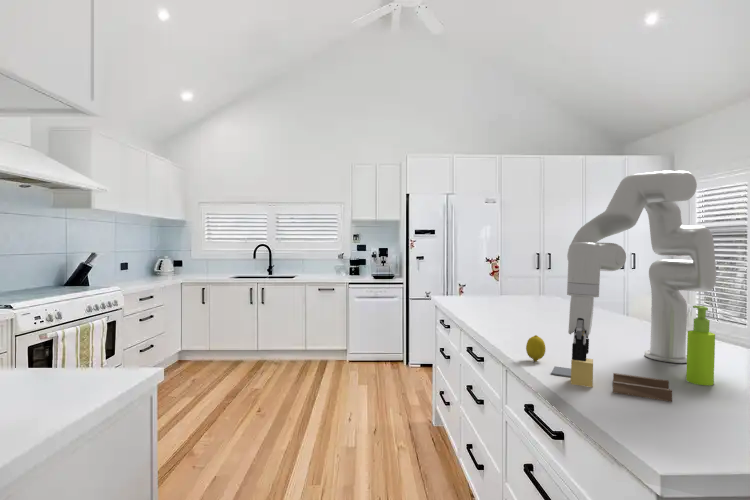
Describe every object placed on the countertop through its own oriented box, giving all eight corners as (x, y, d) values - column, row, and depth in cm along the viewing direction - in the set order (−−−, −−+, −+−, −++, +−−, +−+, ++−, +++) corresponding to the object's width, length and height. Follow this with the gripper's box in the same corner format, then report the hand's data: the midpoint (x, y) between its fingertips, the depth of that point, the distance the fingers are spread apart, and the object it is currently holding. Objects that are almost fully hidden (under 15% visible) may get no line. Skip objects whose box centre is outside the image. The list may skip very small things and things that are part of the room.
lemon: (546, 364, 133) (547, 337, 133) (527, 363, 134) (527, 336, 134) (543, 359, 139) (544, 333, 139) (524, 358, 140) (525, 332, 140)
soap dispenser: (707, 379, 121) (709, 305, 121) (717, 386, 115) (719, 308, 114) (681, 376, 123) (684, 303, 123) (690, 384, 116) (692, 307, 116)
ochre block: (571, 379, 119) (572, 356, 119) (592, 382, 117) (593, 359, 117) (570, 384, 115) (571, 360, 114) (592, 387, 112) (593, 363, 112)
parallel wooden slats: (613, 382, 117) (613, 372, 117) (668, 390, 111) (668, 380, 111) (612, 392, 108) (613, 382, 108) (672, 401, 103) (672, 390, 103)
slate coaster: (554, 367, 130) (554, 366, 130) (585, 371, 126) (585, 370, 126) (551, 374, 123) (551, 373, 123) (583, 379, 119) (583, 377, 119)
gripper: (570, 287, 125) (567, 348, 125) (563, 291, 110) (561, 361, 110) (600, 289, 121) (597, 352, 121) (597, 293, 106) (595, 366, 106)
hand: (580, 356), depth 116 cm, fingers open, 9 cm apart
